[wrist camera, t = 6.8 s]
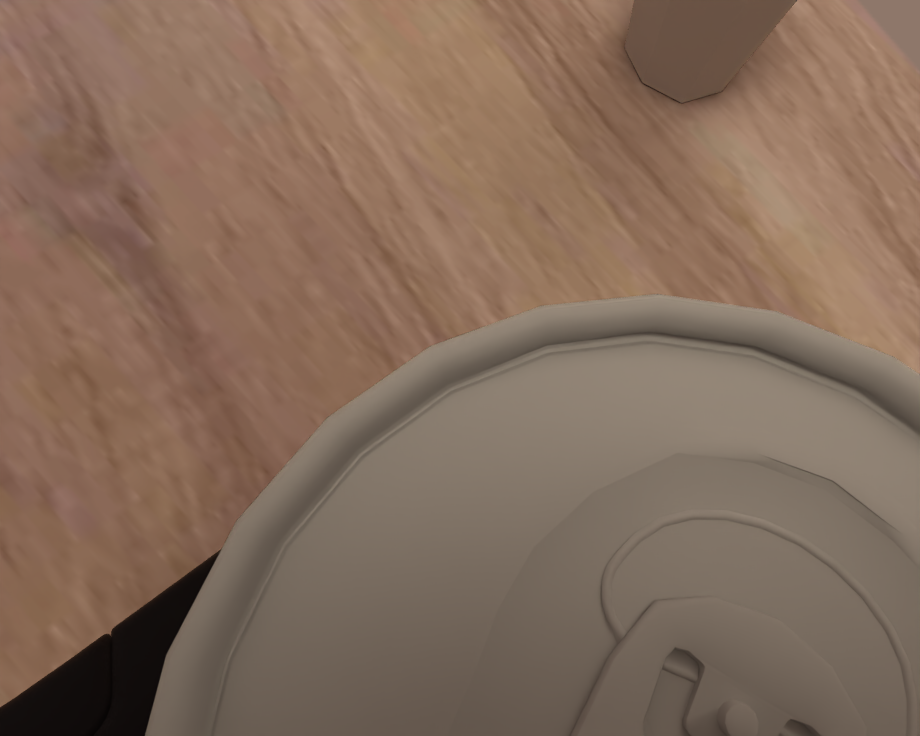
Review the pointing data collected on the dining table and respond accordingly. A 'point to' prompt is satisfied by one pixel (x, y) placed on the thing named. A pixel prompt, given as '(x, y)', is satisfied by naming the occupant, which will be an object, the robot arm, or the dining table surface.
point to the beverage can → (580, 542)
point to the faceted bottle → (697, 41)
